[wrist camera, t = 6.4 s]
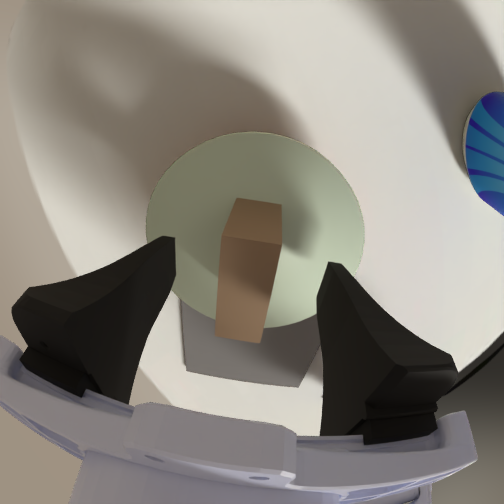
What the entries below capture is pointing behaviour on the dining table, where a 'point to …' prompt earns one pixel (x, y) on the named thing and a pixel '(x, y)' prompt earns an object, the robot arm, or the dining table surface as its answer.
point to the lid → (255, 229)
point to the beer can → (486, 149)
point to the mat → (250, 351)
